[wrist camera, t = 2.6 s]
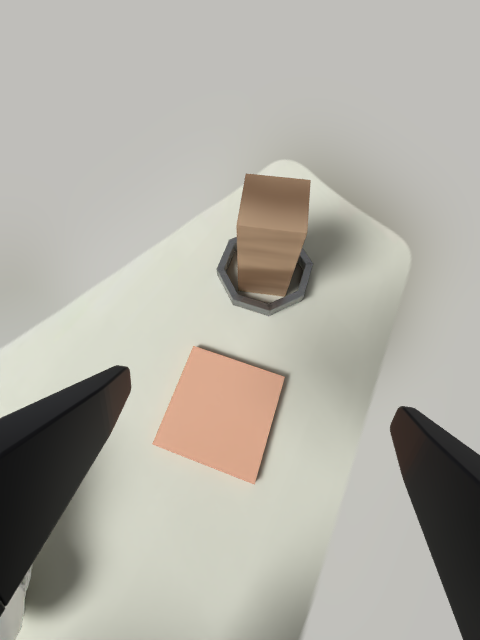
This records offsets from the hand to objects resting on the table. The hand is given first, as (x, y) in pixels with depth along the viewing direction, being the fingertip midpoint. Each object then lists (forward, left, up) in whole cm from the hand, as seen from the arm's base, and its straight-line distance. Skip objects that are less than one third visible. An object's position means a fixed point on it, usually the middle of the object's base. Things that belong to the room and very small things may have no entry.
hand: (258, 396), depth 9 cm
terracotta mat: (-1, +2, -13) cm, 14 cm away
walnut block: (+12, +3, -13) cm, 18 cm away
